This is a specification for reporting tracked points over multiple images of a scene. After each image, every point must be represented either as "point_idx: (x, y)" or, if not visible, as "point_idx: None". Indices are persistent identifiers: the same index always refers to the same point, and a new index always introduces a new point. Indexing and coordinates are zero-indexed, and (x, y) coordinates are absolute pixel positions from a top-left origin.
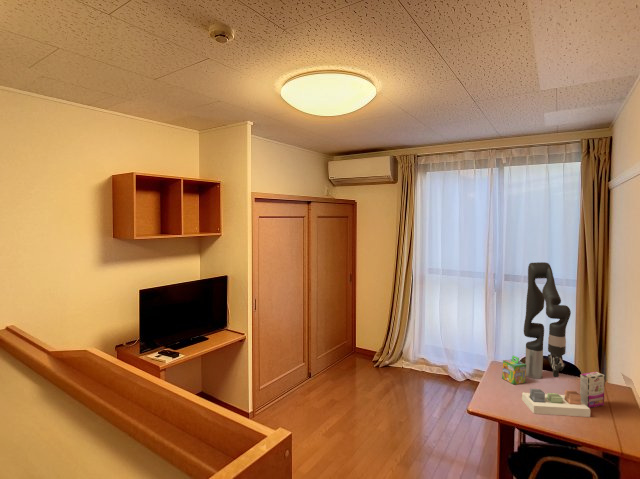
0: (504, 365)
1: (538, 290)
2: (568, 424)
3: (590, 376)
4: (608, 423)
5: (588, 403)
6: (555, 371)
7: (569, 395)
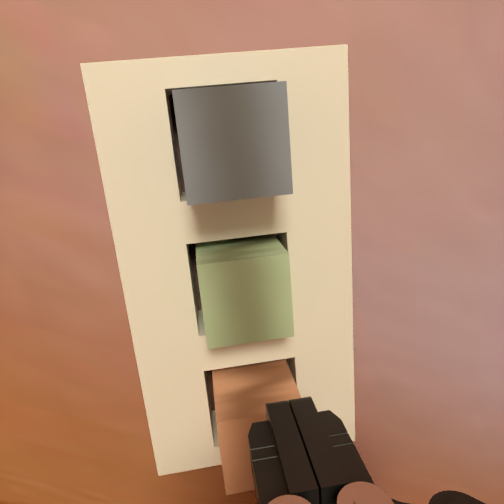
0: None
1: None
2: (4, 278)
3: None
4: (110, 500)
5: None
6: (271, 490)
7: (227, 414)
